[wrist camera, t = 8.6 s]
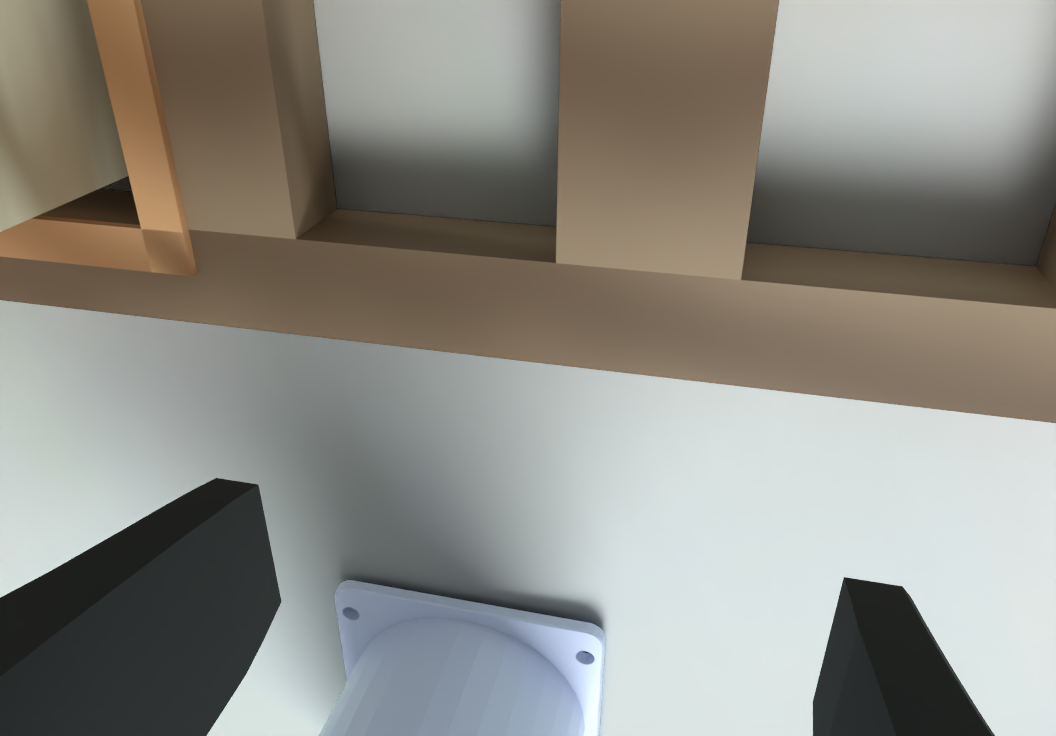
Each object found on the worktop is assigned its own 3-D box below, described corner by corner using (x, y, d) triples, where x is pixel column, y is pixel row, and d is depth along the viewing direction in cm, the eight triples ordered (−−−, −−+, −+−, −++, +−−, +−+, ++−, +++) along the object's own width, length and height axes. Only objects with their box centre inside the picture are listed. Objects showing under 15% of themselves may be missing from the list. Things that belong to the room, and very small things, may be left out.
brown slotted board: (1181, 387, 16) (1236, 449, 15) (-74, 254, 23) (-149, 286, 21) (1459, -233, 12) (1594, -258, 10) (-240, -189, 18) (-359, -200, 16)
